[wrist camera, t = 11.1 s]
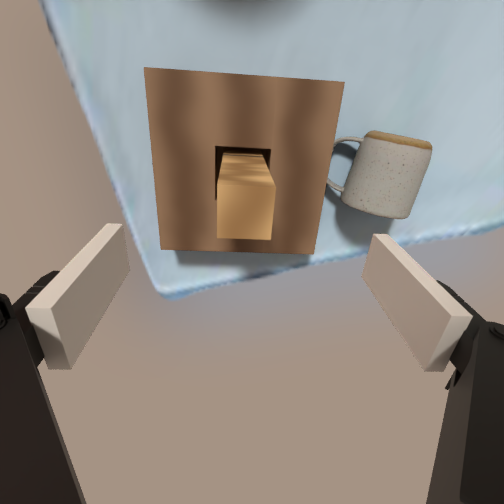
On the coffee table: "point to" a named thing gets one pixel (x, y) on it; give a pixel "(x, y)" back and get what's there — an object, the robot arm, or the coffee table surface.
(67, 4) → the coffee table surface
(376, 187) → the ceramic mug
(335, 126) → the walnut socket block
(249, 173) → the oak peg
